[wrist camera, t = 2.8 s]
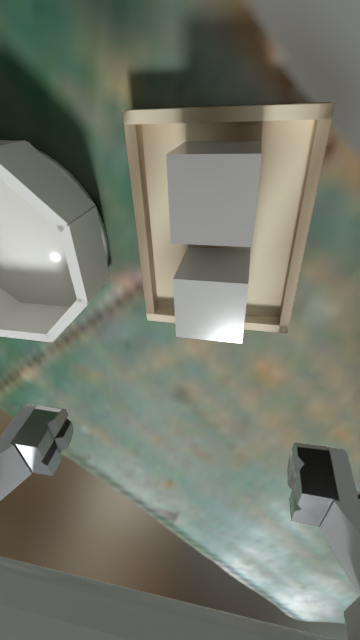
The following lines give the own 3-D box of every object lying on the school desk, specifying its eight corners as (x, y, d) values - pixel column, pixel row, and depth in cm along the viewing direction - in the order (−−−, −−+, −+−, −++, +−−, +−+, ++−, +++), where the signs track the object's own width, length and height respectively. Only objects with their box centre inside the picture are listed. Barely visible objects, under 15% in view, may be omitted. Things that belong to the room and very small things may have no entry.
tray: (328, 102, 15) (335, 102, 14) (285, 319, 23) (287, 333, 22) (132, 109, 17) (122, 110, 16) (153, 308, 25) (147, 320, 23)
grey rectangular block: (261, 140, 16) (261, 153, 13) (253, 217, 18) (252, 247, 15) (185, 141, 17) (166, 154, 13) (187, 215, 19) (171, 243, 16)
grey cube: (250, 249, 20) (248, 283, 16) (245, 303, 22) (242, 343, 18) (187, 247, 20) (172, 278, 17) (188, 299, 23) (176, 336, 19)
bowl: (90, 137, 18) (49, 148, 15) (120, 312, 26) (98, 347, 22) (-85, 141, 21) (-155, 151, 17) (-11, 300, 28) (-50, 330, 24)
